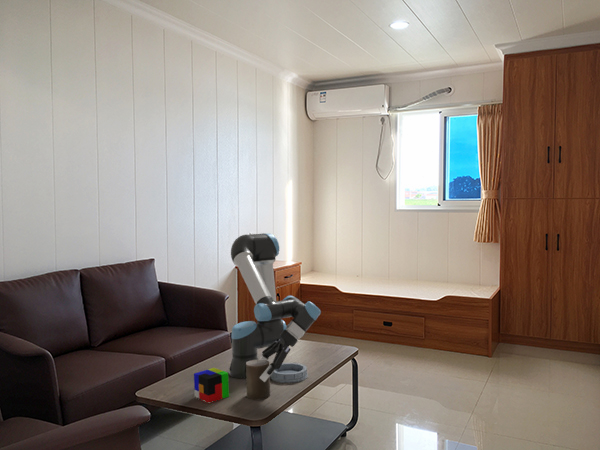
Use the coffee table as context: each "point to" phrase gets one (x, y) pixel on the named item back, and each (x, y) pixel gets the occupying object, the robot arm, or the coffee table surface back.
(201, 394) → the puzzle toy
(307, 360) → the coffee table surface
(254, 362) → the pillar candle
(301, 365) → the candle dish
